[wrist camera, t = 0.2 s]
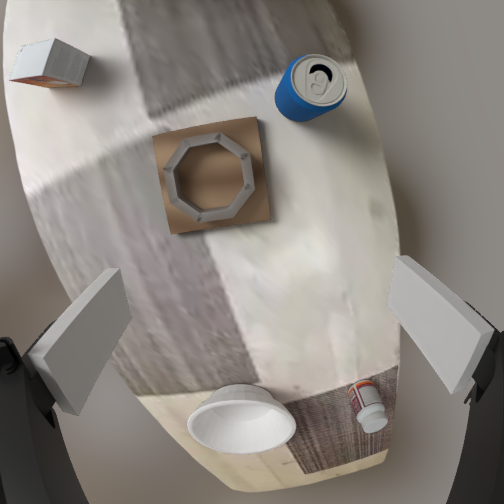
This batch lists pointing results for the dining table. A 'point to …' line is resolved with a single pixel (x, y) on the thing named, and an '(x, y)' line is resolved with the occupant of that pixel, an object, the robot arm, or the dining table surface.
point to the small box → (49, 64)
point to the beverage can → (310, 87)
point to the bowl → (241, 421)
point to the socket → (212, 175)
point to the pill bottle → (367, 406)
